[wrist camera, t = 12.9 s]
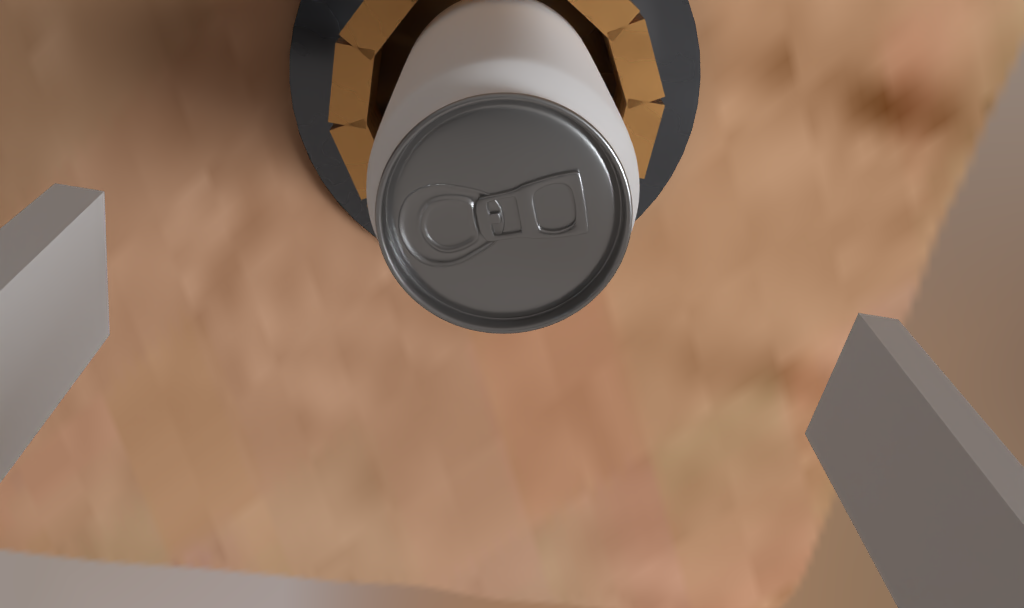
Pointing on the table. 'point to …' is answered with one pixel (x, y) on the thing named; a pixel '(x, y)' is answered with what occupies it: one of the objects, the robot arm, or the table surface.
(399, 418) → the table surface
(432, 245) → the can
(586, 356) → the table surface
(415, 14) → the grey and gold ring
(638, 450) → the table surface
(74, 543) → the table surface
